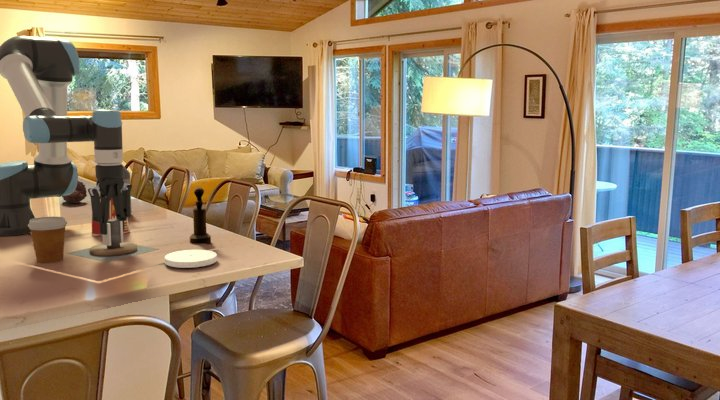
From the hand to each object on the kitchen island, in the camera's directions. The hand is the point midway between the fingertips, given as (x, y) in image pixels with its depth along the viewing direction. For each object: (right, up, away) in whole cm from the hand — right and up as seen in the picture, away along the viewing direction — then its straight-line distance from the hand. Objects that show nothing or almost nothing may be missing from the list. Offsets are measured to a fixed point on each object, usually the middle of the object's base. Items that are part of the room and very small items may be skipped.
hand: (113, 243), depth 177 cm
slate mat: (0, -3, 0) cm, 3 cm away
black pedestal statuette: (+22, -1, +15) cm, 26 cm away
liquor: (-23, +7, +59) cm, 64 cm away
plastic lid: (+25, -5, -9) cm, 28 cm away
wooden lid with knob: (0, -2, 0) cm, 2 cm away
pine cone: (-52, +11, +85) cm, 100 cm away
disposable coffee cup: (-13, -5, -10) cm, 17 cm away
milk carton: (-11, +1, +25) cm, 27 cm away
